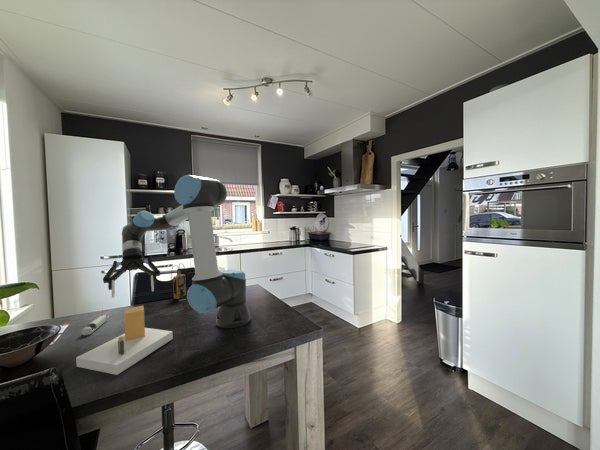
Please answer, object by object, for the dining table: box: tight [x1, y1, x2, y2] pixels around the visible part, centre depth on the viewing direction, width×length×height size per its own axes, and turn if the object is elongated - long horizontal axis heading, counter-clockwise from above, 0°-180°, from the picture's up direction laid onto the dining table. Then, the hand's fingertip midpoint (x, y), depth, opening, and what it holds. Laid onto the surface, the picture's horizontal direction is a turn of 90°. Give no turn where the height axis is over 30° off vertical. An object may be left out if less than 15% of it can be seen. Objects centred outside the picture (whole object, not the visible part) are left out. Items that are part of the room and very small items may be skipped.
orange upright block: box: [123, 305, 146, 341], centre depth 91 cm, size 6×6×10 cm
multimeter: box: [170, 263, 188, 303], centre depth 142 cm, size 15×10×20 cm
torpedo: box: [81, 308, 110, 337], centre depth 105 cm, size 18×5×6 cm, turn 16°
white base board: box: [75, 327, 174, 376], centre depth 86 cm, size 17×22×9 cm
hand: (133, 292), depth 99 cm, fingers open, 13 cm apart
